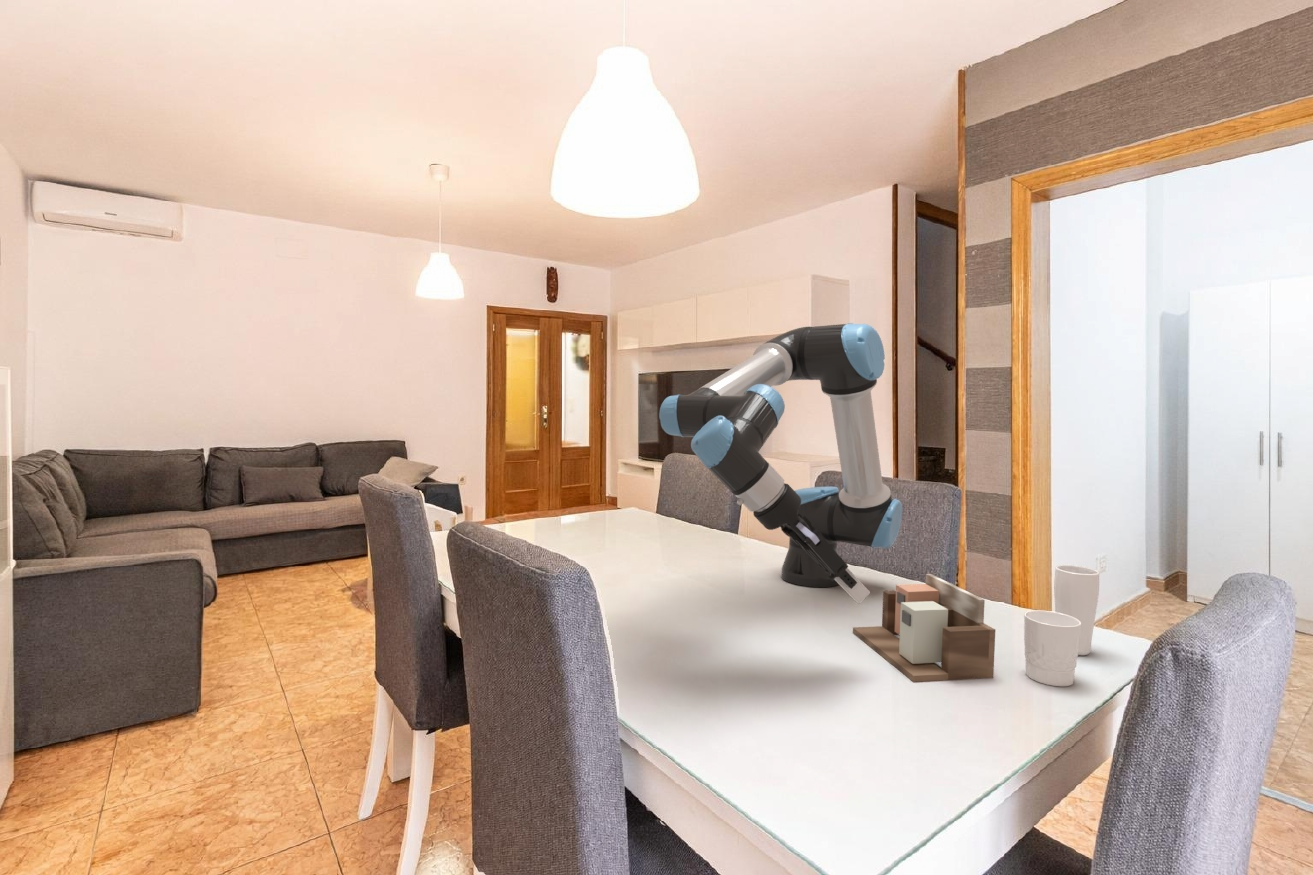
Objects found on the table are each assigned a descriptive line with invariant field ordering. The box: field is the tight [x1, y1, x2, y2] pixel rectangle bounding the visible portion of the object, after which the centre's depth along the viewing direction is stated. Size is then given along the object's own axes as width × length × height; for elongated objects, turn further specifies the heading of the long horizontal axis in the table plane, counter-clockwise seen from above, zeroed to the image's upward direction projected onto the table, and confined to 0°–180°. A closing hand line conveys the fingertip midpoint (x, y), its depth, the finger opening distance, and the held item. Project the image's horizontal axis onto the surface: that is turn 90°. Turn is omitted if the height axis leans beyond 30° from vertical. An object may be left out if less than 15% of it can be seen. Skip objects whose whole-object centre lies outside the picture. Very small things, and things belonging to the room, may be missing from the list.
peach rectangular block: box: [895, 583, 939, 636], centre depth 120 cm, size 4×6×9 cm
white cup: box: [1023, 609, 1081, 687], centre depth 105 cm, size 8×8×10 cm
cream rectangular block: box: [899, 601, 948, 664], centre depth 110 cm, size 4×6×9 cm
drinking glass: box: [1053, 564, 1100, 656], centre depth 117 cm, size 7×7×15 cm
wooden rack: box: [852, 573, 996, 683], centre depth 115 cm, size 22×14×12 cm, turn 8°
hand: (862, 596), depth 107 cm, fingers closed
